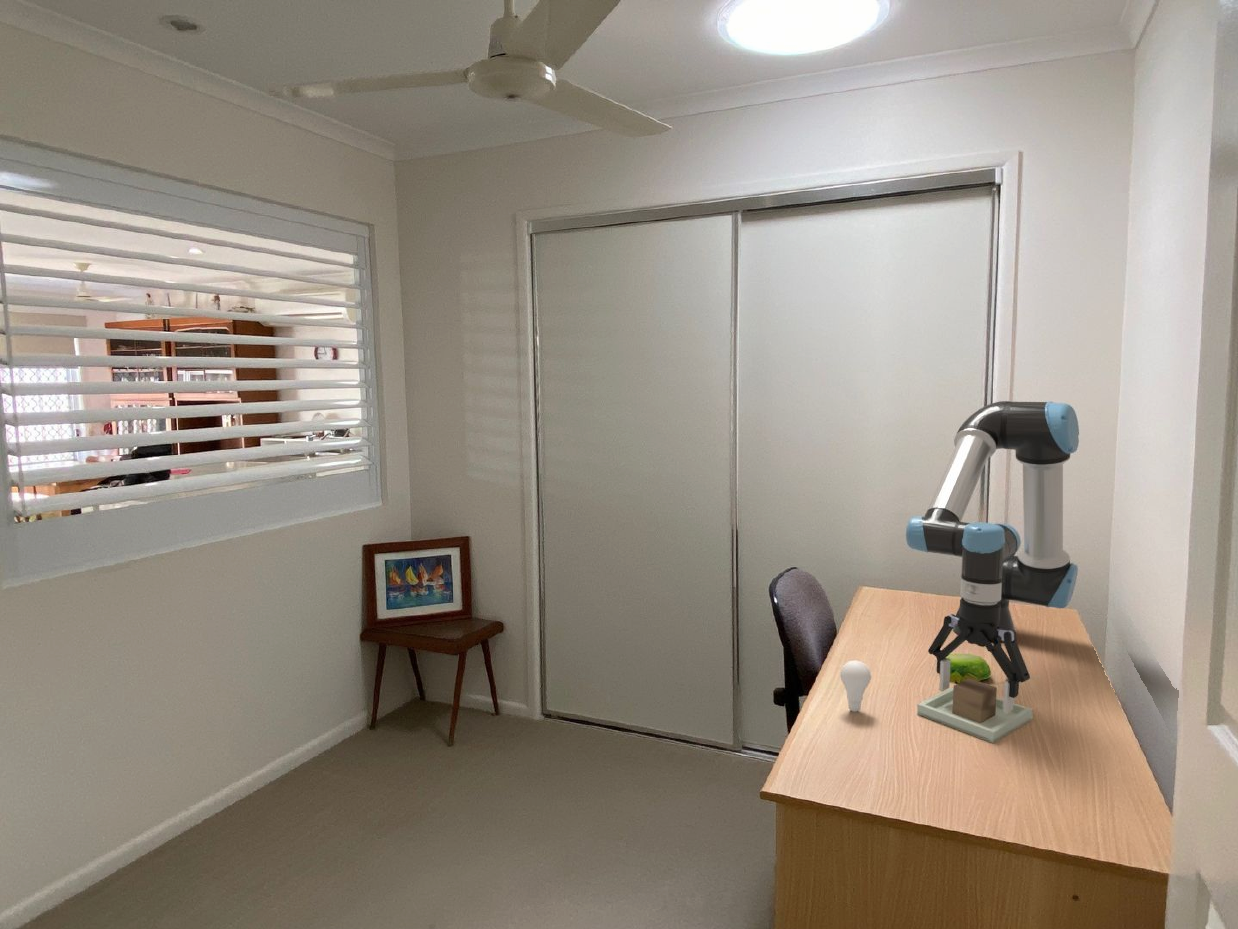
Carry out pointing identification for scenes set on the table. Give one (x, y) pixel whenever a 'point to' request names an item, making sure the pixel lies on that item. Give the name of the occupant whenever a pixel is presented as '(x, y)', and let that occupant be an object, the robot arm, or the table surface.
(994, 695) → the cube
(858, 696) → the lightbulb
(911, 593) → the table surface
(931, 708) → the tray
